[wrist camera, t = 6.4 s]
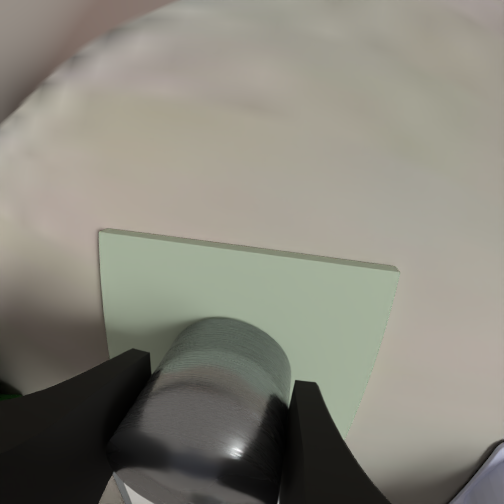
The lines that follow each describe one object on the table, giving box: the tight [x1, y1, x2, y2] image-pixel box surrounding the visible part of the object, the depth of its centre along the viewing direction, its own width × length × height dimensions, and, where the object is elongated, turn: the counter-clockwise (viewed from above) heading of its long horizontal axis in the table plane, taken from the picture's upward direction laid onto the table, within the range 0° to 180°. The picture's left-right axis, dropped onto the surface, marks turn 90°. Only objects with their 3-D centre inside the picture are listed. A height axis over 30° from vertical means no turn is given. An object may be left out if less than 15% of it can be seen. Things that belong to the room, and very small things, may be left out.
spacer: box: [106, 319, 291, 504], centre depth 8 cm, size 4×4×5 cm
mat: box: [99, 228, 400, 440], centre depth 11 cm, size 10×8×1 cm
